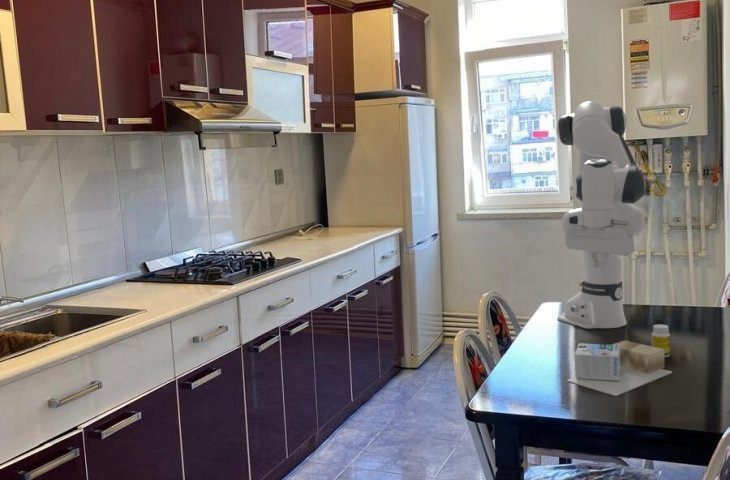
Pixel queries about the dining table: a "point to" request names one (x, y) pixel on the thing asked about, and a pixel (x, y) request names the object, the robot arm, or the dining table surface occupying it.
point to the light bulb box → (598, 362)
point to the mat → (621, 381)
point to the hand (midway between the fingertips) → (598, 267)
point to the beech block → (640, 357)
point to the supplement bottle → (661, 338)
